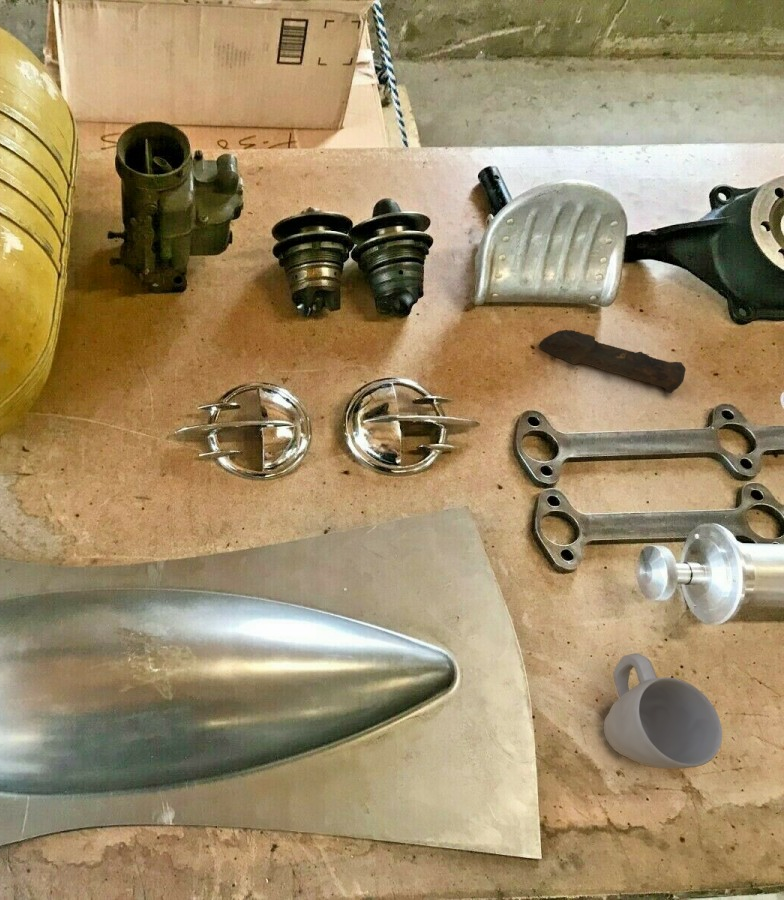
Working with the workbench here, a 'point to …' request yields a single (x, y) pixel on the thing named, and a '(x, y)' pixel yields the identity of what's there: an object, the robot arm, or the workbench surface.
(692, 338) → the workbench surface
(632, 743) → the mug
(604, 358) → the hand tool
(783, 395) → the chess piece
